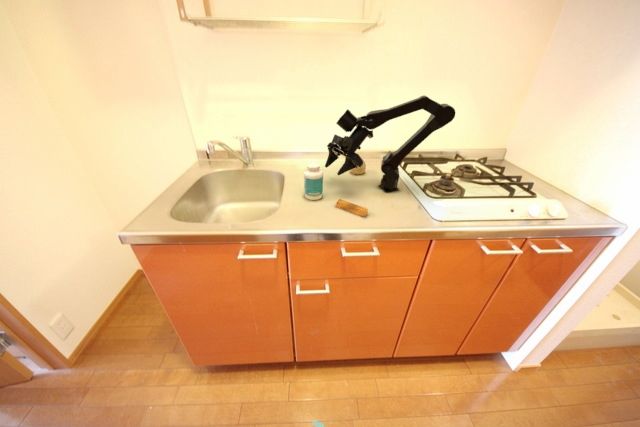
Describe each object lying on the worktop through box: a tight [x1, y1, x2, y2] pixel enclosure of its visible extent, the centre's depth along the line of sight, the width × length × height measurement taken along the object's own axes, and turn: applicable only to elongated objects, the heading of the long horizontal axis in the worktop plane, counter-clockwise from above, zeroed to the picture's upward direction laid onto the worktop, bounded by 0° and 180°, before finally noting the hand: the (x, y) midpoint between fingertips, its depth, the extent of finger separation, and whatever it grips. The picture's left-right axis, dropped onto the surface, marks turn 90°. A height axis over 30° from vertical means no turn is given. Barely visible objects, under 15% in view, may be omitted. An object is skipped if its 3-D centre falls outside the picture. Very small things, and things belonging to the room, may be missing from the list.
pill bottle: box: [303, 162, 324, 201], centre depth 90 cm, size 8×7×14 cm
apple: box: [350, 160, 367, 175], centre depth 113 cm, size 8×8×8 cm
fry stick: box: [335, 198, 369, 218], centre depth 84 cm, size 12×2×2 cm, turn 54°
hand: (331, 170), depth 93 cm, fingers open, 9 cm apart
